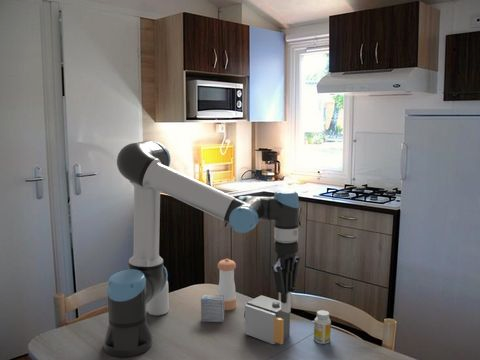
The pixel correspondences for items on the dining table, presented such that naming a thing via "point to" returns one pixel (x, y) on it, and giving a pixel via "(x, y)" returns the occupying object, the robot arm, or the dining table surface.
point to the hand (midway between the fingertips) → (285, 311)
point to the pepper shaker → (227, 283)
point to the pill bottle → (159, 302)
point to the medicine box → (212, 308)
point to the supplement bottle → (322, 327)
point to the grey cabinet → (272, 310)
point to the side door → (263, 325)
